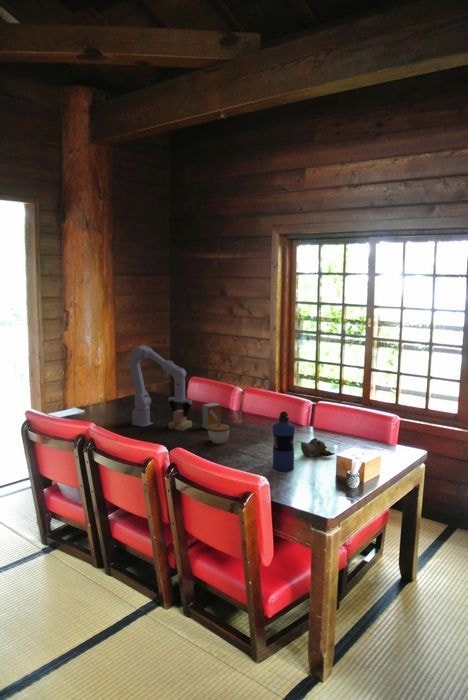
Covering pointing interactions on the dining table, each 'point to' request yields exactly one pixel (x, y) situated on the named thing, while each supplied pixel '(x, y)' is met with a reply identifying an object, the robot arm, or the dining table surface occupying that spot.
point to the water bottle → (283, 444)
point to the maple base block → (180, 425)
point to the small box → (211, 414)
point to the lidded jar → (218, 432)
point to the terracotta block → (179, 416)
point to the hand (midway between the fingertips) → (180, 415)
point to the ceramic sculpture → (315, 448)
